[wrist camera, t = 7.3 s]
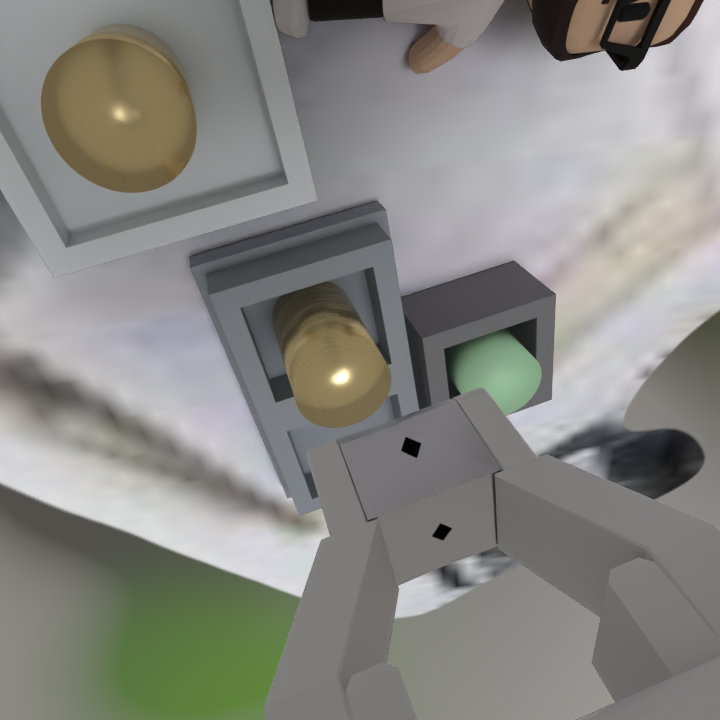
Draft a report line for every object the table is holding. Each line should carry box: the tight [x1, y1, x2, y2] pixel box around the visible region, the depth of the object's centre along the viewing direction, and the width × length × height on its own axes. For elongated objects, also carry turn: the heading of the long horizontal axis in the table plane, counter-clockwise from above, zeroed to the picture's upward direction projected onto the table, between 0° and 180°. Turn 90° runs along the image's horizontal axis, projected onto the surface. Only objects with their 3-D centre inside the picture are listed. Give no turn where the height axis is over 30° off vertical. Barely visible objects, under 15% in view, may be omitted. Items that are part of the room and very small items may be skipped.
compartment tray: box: [190, 201, 419, 516], centre depth 29 cm, size 16×9×3 cm, turn 11°
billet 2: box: [272, 281, 391, 428], centre depth 24 cm, size 4×4×6 cm
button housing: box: [401, 261, 556, 416], centre depth 30 cm, size 7×7×4 cm
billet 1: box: [41, 24, 197, 193], centre depth 18 cm, size 4×4×6 cm
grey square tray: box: [0, 0, 318, 278], centre depth 20 cm, size 11×11×2 cm
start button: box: [444, 328, 542, 415], centre depth 29 cm, size 4×4×4 cm
